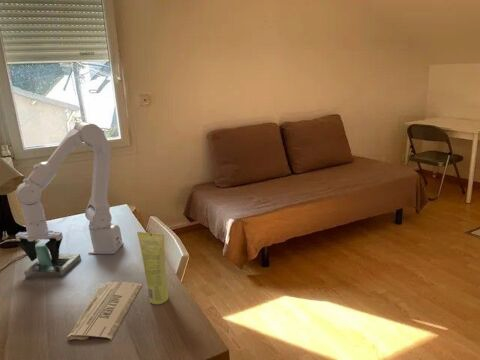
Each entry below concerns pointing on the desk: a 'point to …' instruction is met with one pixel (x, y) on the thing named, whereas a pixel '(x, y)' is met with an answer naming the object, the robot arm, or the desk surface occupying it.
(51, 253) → the robot arm
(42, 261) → the peg
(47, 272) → the keyhole plate
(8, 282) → the desk surface
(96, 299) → the newspaper
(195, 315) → the desk surface
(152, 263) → the tube
